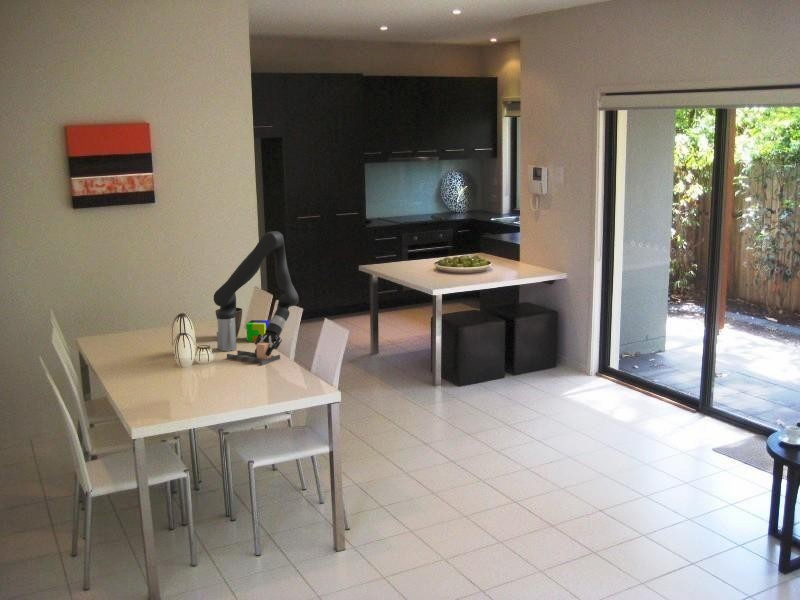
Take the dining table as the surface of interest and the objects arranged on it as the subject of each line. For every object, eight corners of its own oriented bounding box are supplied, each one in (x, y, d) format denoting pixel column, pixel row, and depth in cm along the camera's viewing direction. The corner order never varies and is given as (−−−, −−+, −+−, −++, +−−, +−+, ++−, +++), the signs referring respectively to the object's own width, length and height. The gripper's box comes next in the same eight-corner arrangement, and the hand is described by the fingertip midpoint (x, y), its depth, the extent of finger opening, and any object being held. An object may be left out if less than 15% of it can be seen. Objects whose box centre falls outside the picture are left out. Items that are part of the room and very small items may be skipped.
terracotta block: (257, 361, 416) (256, 343, 415) (263, 359, 421) (262, 341, 419) (264, 362, 414) (264, 345, 412) (271, 360, 418) (270, 342, 416)
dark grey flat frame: (223, 362, 422) (223, 355, 421) (242, 355, 434) (241, 349, 433) (262, 368, 409) (262, 361, 409) (280, 361, 421) (280, 355, 421)
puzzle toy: (269, 337, 473) (268, 320, 471) (264, 341, 463) (264, 324, 462) (252, 337, 474) (251, 320, 472) (247, 341, 464) (246, 324, 463)
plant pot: (213, 340, 468) (211, 312, 465) (222, 334, 482) (220, 307, 479) (238, 341, 466) (237, 312, 463) (247, 334, 480) (245, 307, 477)
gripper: (261, 320, 424) (246, 348, 416) (283, 323, 417) (269, 352, 409) (268, 329, 429) (254, 356, 422) (290, 331, 422) (276, 360, 414)
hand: (261, 354), depth 415 cm, fingers open, 6 cm apart
